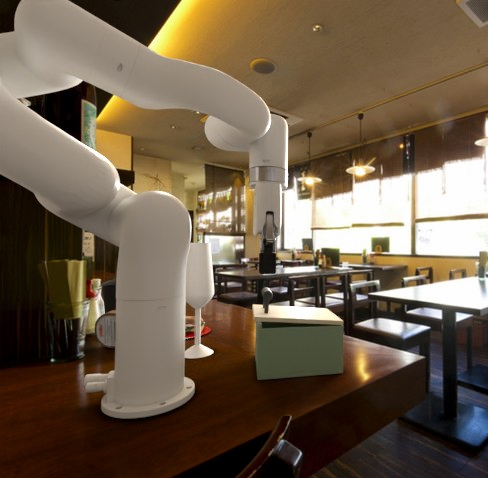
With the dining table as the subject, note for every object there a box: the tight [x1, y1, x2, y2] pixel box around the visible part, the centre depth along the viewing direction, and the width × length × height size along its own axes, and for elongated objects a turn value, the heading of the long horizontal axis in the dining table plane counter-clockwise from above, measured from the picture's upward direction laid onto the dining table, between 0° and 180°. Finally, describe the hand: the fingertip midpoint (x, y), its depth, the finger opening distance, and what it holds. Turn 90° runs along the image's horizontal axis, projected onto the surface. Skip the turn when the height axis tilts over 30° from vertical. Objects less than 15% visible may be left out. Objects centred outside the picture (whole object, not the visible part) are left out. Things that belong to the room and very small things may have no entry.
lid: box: [251, 286, 344, 326], centre depth 65 cm, size 16×13×5 cm
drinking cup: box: [100, 277, 116, 314], centre depth 85 cm, size 8×8×20 cm
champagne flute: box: [185, 242, 215, 359], centre depth 72 cm, size 7×7×24 cm
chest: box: [254, 321, 344, 381], centre depth 65 cm, size 16×13×9 cm
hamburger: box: [185, 315, 212, 339], centre depth 88 cm, size 14×14×6 cm
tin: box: [94, 310, 116, 349], centre depth 75 cm, size 15×3×8 cm, turn 84°
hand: (267, 273), depth 64 cm, fingers closed
